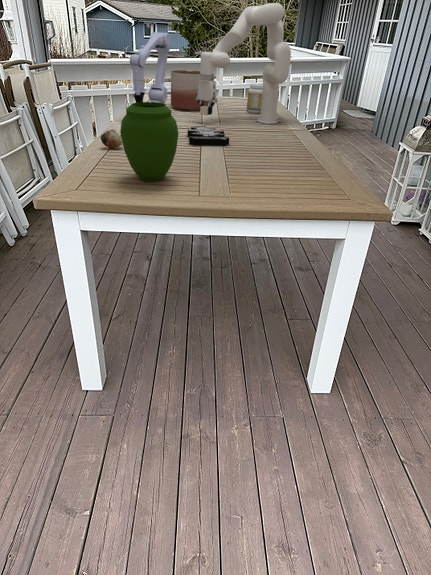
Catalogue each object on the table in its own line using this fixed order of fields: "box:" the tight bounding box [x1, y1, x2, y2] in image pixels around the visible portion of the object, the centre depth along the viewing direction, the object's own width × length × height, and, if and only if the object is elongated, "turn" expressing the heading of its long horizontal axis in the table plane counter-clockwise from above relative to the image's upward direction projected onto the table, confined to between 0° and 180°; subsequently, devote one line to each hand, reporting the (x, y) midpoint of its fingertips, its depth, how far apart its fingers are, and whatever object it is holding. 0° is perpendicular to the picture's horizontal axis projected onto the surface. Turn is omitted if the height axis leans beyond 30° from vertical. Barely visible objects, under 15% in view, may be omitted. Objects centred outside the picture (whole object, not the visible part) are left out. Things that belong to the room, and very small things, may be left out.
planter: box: [170, 69, 209, 112], centre depth 273 cm, size 25×25×22 cm
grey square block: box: [199, 105, 212, 116], centre depth 232 cm, size 5×5×4 cm
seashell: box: [100, 128, 123, 149], centre depth 178 cm, size 10×6×8 cm, turn 91°
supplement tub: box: [246, 83, 263, 114], centre depth 274 cm, size 12×12×17 cm
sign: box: [187, 125, 230, 147], centre depth 203 cm, size 19×3×30 cm
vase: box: [119, 101, 179, 182], centre depth 140 cm, size 20×20×24 cm
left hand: (139, 107), depth 226 cm, fingers open, 7 cm apart
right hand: (206, 113), depth 233 cm, fingers closed on grey square block, 4 cm apart
